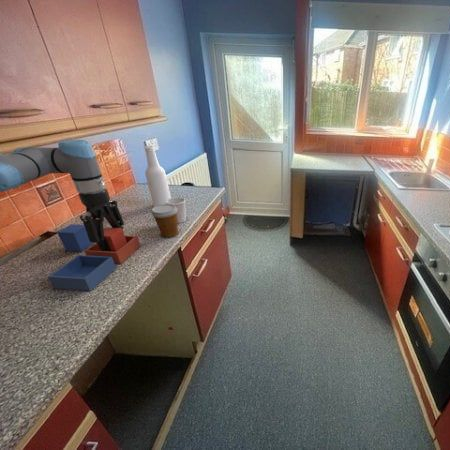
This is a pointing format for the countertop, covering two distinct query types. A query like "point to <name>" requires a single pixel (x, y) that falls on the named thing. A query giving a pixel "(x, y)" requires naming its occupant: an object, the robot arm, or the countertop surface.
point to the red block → (114, 238)
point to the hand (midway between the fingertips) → (115, 250)
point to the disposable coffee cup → (166, 219)
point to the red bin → (120, 254)
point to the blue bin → (82, 272)
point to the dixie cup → (178, 207)
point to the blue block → (74, 238)
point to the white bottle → (156, 178)
